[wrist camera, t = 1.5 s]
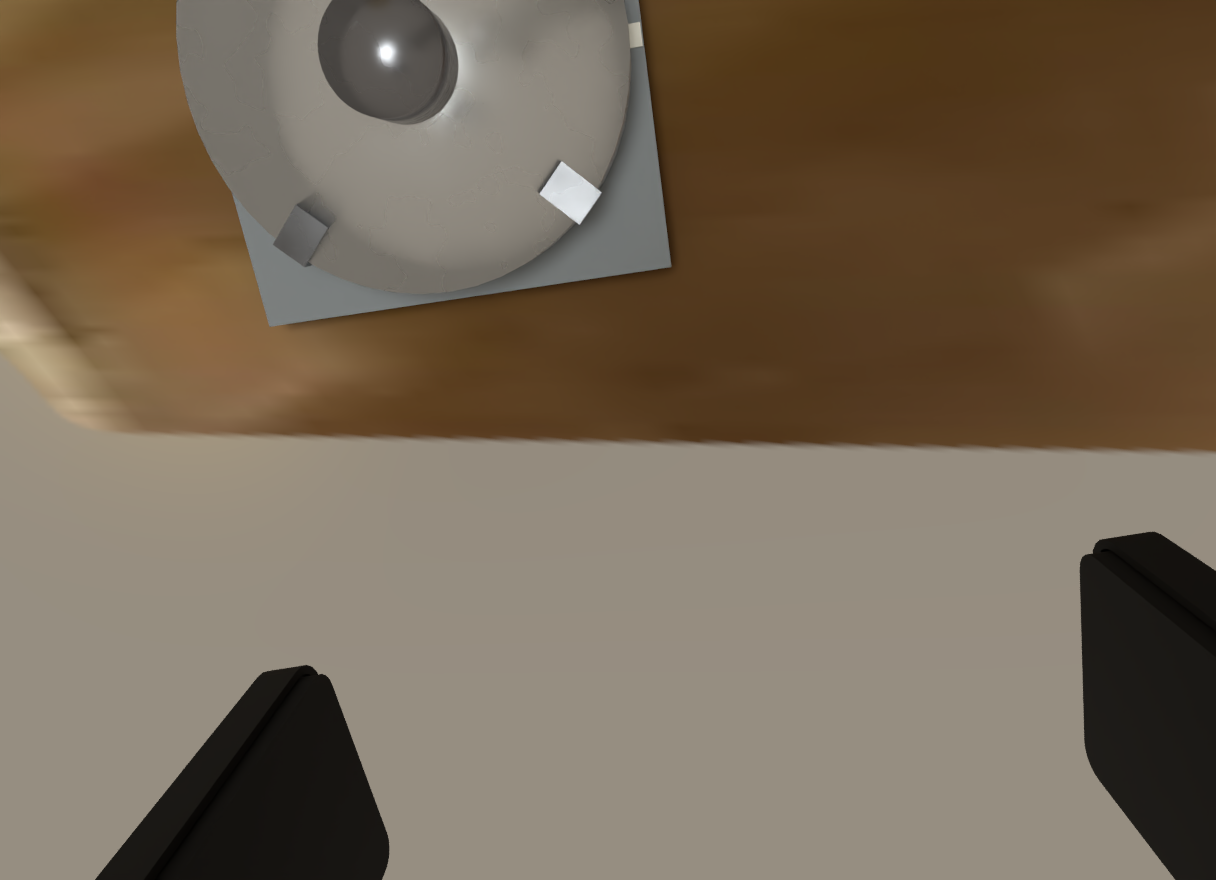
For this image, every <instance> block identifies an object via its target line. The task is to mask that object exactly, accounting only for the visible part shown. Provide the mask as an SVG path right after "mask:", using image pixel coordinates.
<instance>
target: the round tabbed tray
mask: <svg viewBox="0 0 1216 880" xmlns="http://www.w3.org/2000/svg"><path fill="white" fill-rule="evenodd" d="M176 37H177V46H178V55H179V64H180V71H181V76H182V80H183V84H184V89H185V93H186V98H187V102H188V105H189V108H190V110H191V113H192V116H193V119H194V122H195V125H196V128H197V130H198V133H199V135H200V137H201V139H202V141H203V143H204V146H205V148H206V150H207V152H208V154H209V156H210V158H211V160H212V162H213V164H214V165H215V167H216V168H217V170H218V172H219V173H220V175H221V176H222V178H223V180H224V181H225V183H226V184H227V186H228V188H229V189H230V190H231V191H232V193H233V194H234V195H235V196H236V198H237V199H238V200H239V202H240V203H241V204H242V205H243V207H244V208H245V209H246V210H247V212H248V213H249V214H250V215H251V216H252V217H253V218H254V219H255V220H256V221H257V222H258V223H259V224H260V225H261V226H262V227H263V228H264V229H265V230H266V231H267V232H268V233H269V234H270V235H272V236H273V237H274V238H275V239H276V240H275V241H274V243H273V245H274V246H275V247H277V248H278V249H279V250H281V251H282V252H284V253H285V254H287V255H288V256H289V257H291V258H292V259H294V260H295V261H296V262H298V263H299V264H301V265H302V266H303V267H308V266H311V265H314V266H316V267H317V268H320V269H322V270H324V271H326V272H328V273H330V274H332V275H335V276H337V277H339V278H341V279H344V280H347V281H350V282H353V283H356V284H359V285H362V286H365V287H368V288H373V289H379V290H384V291H389V292H395V293H411V294H430V293H443V292H452V291H456V290H461V289H465V288H470V287H474V286H478V285H480V284H483V283H486V282H488V281H491V280H494V279H497V278H499V277H502V276H504V275H505V274H507V273H509V272H511V271H513V270H515V269H517V268H519V267H520V266H522V265H524V264H526V263H528V262H530V261H531V260H533V259H534V258H536V257H537V256H539V255H540V254H541V253H543V252H544V251H545V250H547V249H548V248H550V247H551V246H552V245H554V244H555V243H556V242H557V241H558V240H559V239H560V238H561V237H562V236H563V235H564V234H565V233H566V232H567V231H568V230H569V229H570V228H572V227H573V225H574V224H575V223H576V222H577V223H578V224H579V225H580V224H581V223H582V222H583V220H584V219H585V217H586V216H587V214H588V213H589V212H590V210H591V209H592V207H593V206H594V204H595V203H596V202H597V200H598V199H599V197H600V196H601V194H602V193H603V192H601V191H600V190H599V189H600V188H601V186H602V184H603V183H604V181H605V179H606V176H607V174H608V172H609V170H610V167H611V165H612V163H613V161H614V158H615V156H616V153H617V150H618V147H619V144H620V140H621V137H622V134H623V130H624V127H625V121H626V116H627V110H628V104H629V98H630V82H631V55H630V40H629V28H628V20H627V15H626V10H625V4H624V0H177V20H176Z"/></svg>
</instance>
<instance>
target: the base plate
mask: <svg viewBox="0 0 1216 880" xmlns="http://www.w3.org/2000/svg"><path fill="white" fill-rule="evenodd" d="M624 4H625V10H626V15H627V20H628V28H629V40H630V55H631V82H630V98H629V104H628V110H627V116H626V121H625V127H624V130H623V134H622V137H621V140H620V144H619V147H618V150H617V153H616V156H615V158H614V161H613V163H612V165H611V167H610V170H609V172H608V174H607V176H606V179H605V181H604V183H603V184H602V186H601V188H600V189H599V190H600V191H601V192H603V193H602V194H601V196H600V197H599V199H598V200H597V202H596V203H595V204H594V206H593V207H592V209H591V210H590V212H589V213H588V214H587V216H586V217H585V219H584V220H583V222H582V223H581V224H580V225H579V224H578V223H577V222H576V223H575V224H574V225H573V227H572V228H570V229H569V230H568V231H567V232H566V233H565V234H564V235H563V236H562V237H561V238H560V239H559V240H558V241H557V242H556V243H555V244H554V245H552V246H551V247H550V248H548V249H547V250H545V251H544V252H543V253H541V254H540V255H539V256H537V257H536V258H534V259H533V260H531V261H530V262H528V263H526V264H524V265H522V266H520V267H519V268H517V269H515V270H513V271H511V272H509V273H507V274H505V275H504V276H502V277H499V278H497V279H494V280H491V281H488V282H486V283H483V284H480V285H478V286H474V287H470V288H465V289H461V290H456V291H452V292H443V293H430V294H411V293H395V292H389V291H384V290H379V289H373V288H368V287H365V286H362V285H359V284H356V283H353V282H350V281H347V280H344V279H341V278H339V277H337V276H335V275H332V274H330V273H328V272H326V271H324V270H322V269H320V268H317V267H316V266H314V265H311V266H308V267H303V266H302V265H301V264H299V263H298V262H296V261H295V260H294V259H292V258H291V257H289V256H288V255H287V254H285V253H284V252H282V251H281V250H279V249H278V248H277V247H275V246H274V245H273V243H274V241H275V240H276V239H275V238H274V237H273V236H272V235H270V234H269V233H268V232H267V231H266V230H265V229H264V228H263V227H262V226H261V225H260V224H259V223H258V222H257V221H256V220H255V219H254V218H253V217H252V216H251V215H250V214H249V213H248V212H247V210H246V209H245V208H244V207H243V205H242V204H241V203H240V202H239V200H238V199H237V198H236V196H235V195H234V194H233V193H232V194H233V198H234V201H235V205H236V209H237V212H238V216H239V219H240V223H241V226H242V230H243V233H244V237H245V241H246V244H247V248H248V251H249V255H250V258H251V262H252V266H253V269H254V273H255V276H256V280H257V283H258V287H259V290H260V294H261V298H262V301H263V305H264V308H265V312H266V315H267V319H268V322H269V326H270V327H271V326H277V325H284V324H291V323H298V322H304V321H311V320H318V319H324V318H331V317H338V316H345V315H351V314H358V313H365V312H372V311H378V310H385V309H392V308H399V307H405V306H412V305H419V304H425V303H432V302H439V301H446V300H452V299H459V298H466V297H473V296H479V295H486V294H493V293H499V292H506V291H513V290H520V289H526V288H533V287H540V286H547V285H553V284H560V283H567V282H574V281H580V280H587V279H594V278H600V277H607V276H614V275H621V274H627V273H634V272H641V271H648V270H654V269H661V268H668V267H671V260H670V252H669V244H668V236H667V227H666V219H665V211H664V203H663V195H662V187H661V179H660V171H659V162H658V154H657V146H656V138H655V130H654V122H653V114H652V105H651V97H650V89H649V81H648V73H647V65H646V57H645V49H644V40H643V32H642V24H641V16H640V8H639V0H624Z"/></svg>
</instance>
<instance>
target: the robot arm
mask: <svg viewBox="0 0 1216 880" xmlns="http://www.w3.org/2000/svg"><path fill="white" fill-rule="evenodd" d="M1080 592H1081V593H1080V594H1081V629H1082V630H1081V631H1082V665H1083V666H1082V667H1083V703H1084V737H1085V738H1084V740H1085V749H1086V753H1087V757H1088V759H1089V762H1090V765H1091V767H1092V769H1093V771H1094V773H1095V775H1096V776H1097V778H1098V779H1099V781H1100V782H1101V783H1102V785H1103V786H1104V787H1105V788H1106V790H1107V791H1108V792H1109V794H1110V795H1111V796H1112V798H1113V799H1114V800H1115V802H1116V803H1117V804H1118V805H1119V807H1120V808H1121V809H1122V811H1123V812H1124V813H1125V815H1126V816H1127V817H1128V819H1129V820H1130V821H1131V822H1132V824H1133V825H1134V826H1135V828H1136V829H1137V830H1138V832H1139V833H1140V834H1141V835H1142V837H1143V838H1144V839H1145V841H1146V842H1147V843H1148V844H1149V846H1150V847H1151V848H1152V850H1153V851H1154V852H1155V854H1156V855H1157V856H1158V858H1159V859H1160V860H1161V862H1162V863H1163V864H1164V865H1165V867H1166V868H1167V869H1168V871H1169V872H1170V873H1171V875H1172V876H1173V877H1174V879H1175V880H1216V571H1215V570H1214V569H1212V568H1211V567H1209V566H1208V565H1206V564H1205V563H1203V562H1202V561H1200V560H1199V559H1197V558H1196V557H1194V556H1193V555H1191V554H1190V553H1188V552H1187V551H1185V550H1183V549H1182V548H1180V547H1179V546H1178V545H1176V544H1175V543H1173V542H1172V541H1170V540H1169V539H1167V538H1166V537H1164V536H1163V535H1161V534H1159V533H1156V532H1146V533H1140V534H1133V535H1127V536H1121V537H1114V538H1108V539H1102V540H1099V541H1098V542H1097V543H1096V544H1095V547H1094V549H1093V554H1087V555H1085V556H1083V557H1082V559H1081V562H1080ZM388 859H389V839H388V835H387V832H386V830H385V827H384V824H383V821H382V818H381V816H380V813H379V810H378V808H377V805H376V802H375V799H374V797H373V794H372V792H371V789H370V786H369V783H368V781H367V778H366V775H365V772H364V770H363V767H362V764H361V761H360V759H359V756H358V753H357V751H356V748H355V745H354V743H353V740H352V737H351V735H350V732H349V729H348V726H347V724H346V721H345V718H344V716H343V713H342V710H341V707H340V705H339V702H338V700H337V696H336V694H335V691H334V688H333V686H332V683H331V681H330V679H329V678H328V677H327V676H326V675H323V674H320V675H318V674H317V672H316V670H314V669H313V667H311V666H308V665H304V666H298V667H291V668H286V669H279V670H272V671H267V672H263V673H262V674H261V675H260V676H259V677H258V678H257V679H256V680H255V681H254V682H253V684H252V685H251V686H250V687H249V689H248V690H247V691H246V692H245V694H244V695H243V696H242V697H241V699H240V700H239V701H238V702H237V704H236V705H235V706H234V707H233V709H232V710H231V711H230V712H229V714H228V715H227V716H226V718H225V719H224V720H223V721H222V722H221V723H220V725H219V726H218V727H217V728H216V730H215V731H214V733H212V735H211V736H210V737H209V738H208V740H207V741H206V742H205V743H204V745H203V746H202V747H201V748H200V750H199V751H198V752H197V753H196V755H195V756H194V757H193V758H192V760H191V761H190V762H189V763H188V765H187V766H186V767H185V769H184V770H183V771H182V772H181V773H180V775H179V776H178V777H177V778H176V780H175V781H174V782H173V783H172V785H171V786H170V787H169V788H168V790H167V791H166V792H165V793H164V794H163V796H162V797H161V798H160V799H159V801H158V802H157V803H156V804H155V806H154V807H153V808H152V810H151V811H150V812H149V813H148V814H147V816H146V817H145V818H144V819H143V821H142V822H141V823H140V824H139V826H138V827H137V828H136V829H135V831H134V832H133V833H132V834H131V835H130V837H129V838H128V839H127V841H126V842H125V843H124V844H123V845H122V847H121V848H120V849H119V850H118V852H117V853H116V854H115V855H114V857H113V858H112V859H111V860H110V862H109V863H108V864H107V865H106V867H105V868H104V869H103V870H102V872H101V873H100V874H99V876H98V877H97V878H96V879H95V880H382V878H383V876H384V873H385V870H386V867H387V864H388Z"/></svg>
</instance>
